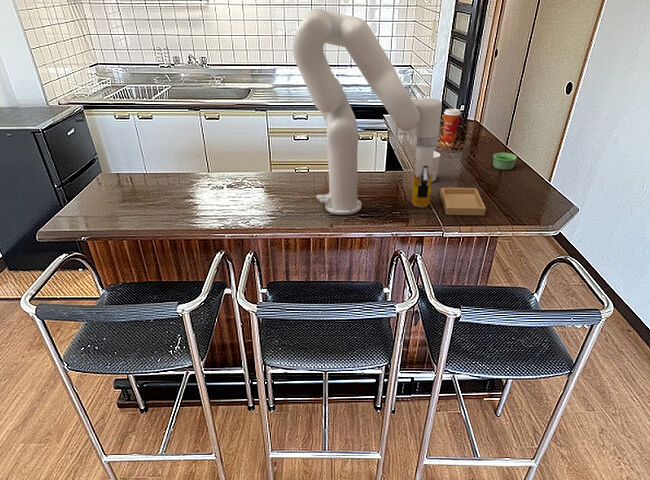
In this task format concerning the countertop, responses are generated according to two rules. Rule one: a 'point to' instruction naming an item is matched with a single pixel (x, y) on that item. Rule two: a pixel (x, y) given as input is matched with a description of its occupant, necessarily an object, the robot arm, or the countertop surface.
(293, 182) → the countertop surface
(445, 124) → the paper cup
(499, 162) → the ramekin
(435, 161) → the white cup
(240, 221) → the countertop surface
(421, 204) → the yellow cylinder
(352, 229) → the countertop surface
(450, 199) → the tray
